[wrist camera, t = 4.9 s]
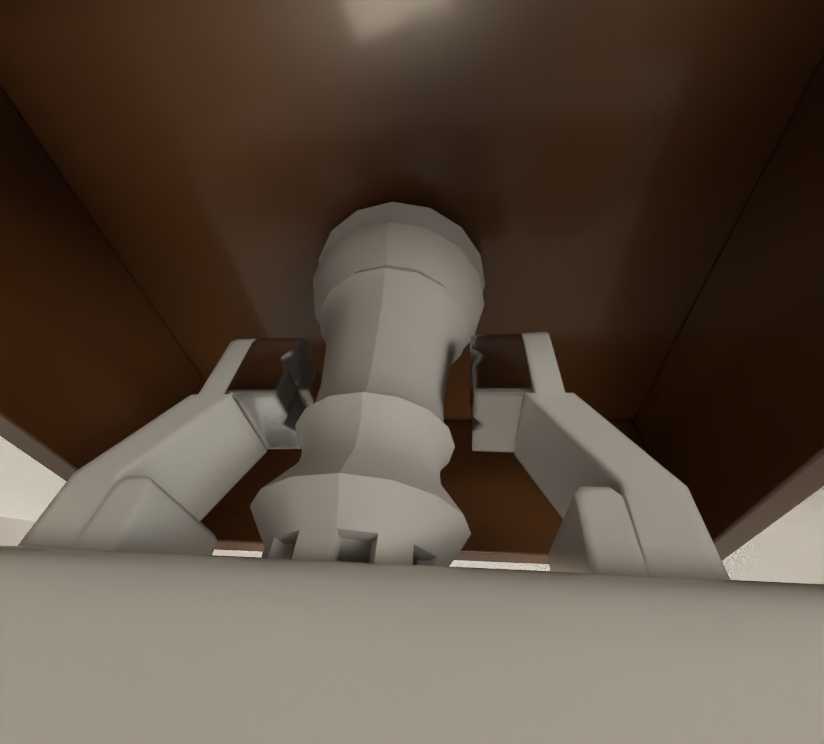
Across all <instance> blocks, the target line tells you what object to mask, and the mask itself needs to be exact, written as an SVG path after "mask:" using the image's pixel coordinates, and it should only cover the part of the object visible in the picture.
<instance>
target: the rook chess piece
mask: <svg viewBox="0 0 824 744" xmlns="http://www.w3.org/2000/svg"><path fill="white" fill-rule="evenodd" d="M484 287H485V280H484V274H483V267H482V261H481V255H480V253H479V252H478V251H477V249H476V248H475V246H474V245H473V243H472V242H471V240H470V239H469V237H468V236H467V235H466V233H465V232H464V230H463V229H462V227H460V226H459V225H457V224H455V223H454V222H452V221H450V220H449V219H447V218H446V217H444V216H442V215H441V214H439V213H438V212H436V211H434V210H433V209H431V208H428V207H421V206H415V205H409V204H403V203H397V202H390V203H386V204H381V205H377V206H373V207H369V208H365V209H361V210H357V211H356V212H354V213H353V214H352V215H351V216H349V217H348V218H347V219H346V220H345V221H343V222H342V223H341V224H340V225H338V226H337V227H336V228H335V229H333V230H332V231H331V232H330V235H329V237H328V239H327V241H326V244H325V246H324V248H323V250H322V253H321V255H320V257H319V266H318V268H317V270H316V273H315V275H314V277H313V292H314V307H315V317H316V318H317V320H318V322H319V324H320V326H321V335H322V337H323V339H324V341H325V342H326V352H325V359H324V367H323V374H322V382H321V386H320V389H319V392H318V396H317V399H316V402H315V403H314V404H313V405H311V406H309V407H307V408H305V410H304V411H303V413H302V415H301V416H300V418H299V420H298V421H297V423H296V424H295V426H296V433H297V440H298V444H299V445H300V447H301V449H302V453H301V458H300V460H299V462H298V463H297V464H296V465H294V466H293V467H292V468H290V469H289V470H287V471H286V472H284V473H283V474H281V475H280V476H279V477H277V478H276V479H274V480H273V481H271V482H270V483H268V484H267V485H266V486H264V487H263V488H261V489H260V491H259V492H258V494H257V495H256V497H255V499H254V500H253V502H252V503H251V505H250V508H251V511H252V514H253V517H254V520H255V522H256V525H257V528H258V531H259V534H260V536H261V539H262V542H263V545H264V551H263V554H262V558H277V559H298V560H319V561H340V562H361V563H382V564H403V565H424V566H445V567H449V565H450V564H451V563H452V561H453V560H454V559H455V557H456V556H457V555H458V553H459V552H460V551H461V549H462V548H463V546H464V544H465V543H466V541H467V540H468V538H469V536H470V535H471V532H470V530H469V527H468V524H467V522H466V519H465V517H464V514H463V513H462V512H461V510H460V509H459V508H458V506H457V505H456V504H455V502H454V501H453V500H452V499H451V497H450V496H449V495H448V493H447V492H446V491H445V489H444V488H443V487H442V485H441V481H440V471H441V470H442V469H443V468H444V467H445V466H446V465H447V464H448V463H449V461H450V458H451V456H452V453H453V450H454V448H455V445H454V442H453V439H452V436H451V433H450V430H449V427H448V426H447V425H446V424H444V399H445V393H446V388H447V383H448V378H449V373H450V368H451V365H452V364H453V363H454V362H455V361H456V360H457V359H458V358H459V357H460V356H461V354H462V351H463V349H464V348H465V347H466V346H467V345H468V343H469V342H470V337H471V335H474V334H475V332H476V329H477V326H478V323H479V319H480V316H481V313H482V310H483V307H484V299H483V290H484Z"/></svg>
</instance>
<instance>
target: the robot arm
mask: <svg viewBox="0 0 824 744" xmlns="http://www.w3.org/2000/svg"><path fill="white" fill-rule="evenodd" d="M310 354H311V351H310V348H309V346H308V343H307V341H306V340H304V339H302V338H258V339H235V340H233V341H232V342H230V344H229V345H228V347H227V348H226V350H225V352H224V353H223V355H222V357H221V358H220V360H219V361H218V363H217V365H216V366H215V368H214V370H213V371H212V373H211V374H210V376H209V378H208V379H207V381H206V383H205V384H204V386H203V387H202V389H201V391H200V392H199V394H194V395H190V396H188V397H187V398H185V399H184V400H182V401H181V402H179V403H178V404H176V405H175V406H173V407H172V408H170V409H169V410H167V411H166V412H164V413H163V414H161V415H160V416H158V417H157V418H155V419H154V420H152V421H151V422H149V423H148V424H146V425H145V426H143V427H142V428H140V429H139V430H137V431H136V432H134V433H133V434H131V435H130V436H128V437H127V438H125V439H124V440H122V441H121V442H119V443H118V444H116V445H115V446H113V447H112V448H110V449H109V450H107V451H106V452H104V453H103V454H101V455H100V456H98V457H97V458H95V459H94V460H92V461H91V462H89V463H88V464H86V465H85V466H83V467H82V468H80V469H79V470H77V471H76V472H74V473H73V474H72V476H71V477H70V478H69V479H68V481H67V482H66V483H65V485H64V486H63V487H62V489H61V490H60V491H59V492H58V494H57V495H56V496H55V498H54V499H53V500H52V502H51V503H50V504H49V506H48V507H47V508H46V509H45V511H44V512H43V513H42V515H41V516H40V517H39V519H38V520H37V521H36V523H35V524H34V525H33V526H32V528H31V529H30V531H29V532H28V533H27V534H26V536H25V537H24V538H23V540H22V541H21V542H20V544H19V545H18V546H1V545H0V744H824V584H803V583H782V582H761V581H740V580H730V578H729V576H728V574H727V572H726V569H725V567H724V565H723V563H722V561H721V558H720V556H719V554H718V552H717V550H716V548H715V545H714V543H713V541H712V539H711V537H710V535H709V532H708V530H707V528H706V526H705V524H704V521H703V519H702V517H701V515H700V513H699V511H698V508H697V506H696V504H695V502H694V500H693V498H692V495H691V493H690V491H689V489H688V487H687V486H686V485H685V484H683V483H682V482H681V481H680V480H679V479H677V478H676V477H675V476H674V475H672V474H671V473H670V472H669V471H668V470H666V469H665V468H664V467H663V466H662V465H660V464H659V463H658V462H657V461H656V460H654V459H653V458H652V457H651V456H650V455H648V454H647V453H646V452H645V451H643V450H642V449H641V448H640V447H639V446H637V445H636V444H635V443H634V442H633V441H631V440H630V439H629V438H628V437H627V436H625V435H624V434H623V433H622V432H621V431H619V430H618V429H617V428H616V427H614V426H613V425H612V424H611V423H610V422H608V421H607V420H606V419H605V418H604V417H602V416H601V415H600V414H599V413H598V412H596V411H595V410H594V409H593V408H592V407H590V406H589V405H588V404H587V403H585V402H584V401H583V400H582V399H581V398H579V397H578V396H577V395H576V394H575V393H565V389H564V386H563V382H562V379H561V375H560V371H559V368H558V364H557V361H556V357H555V353H554V350H553V346H552V343H551V339H550V335H549V334H548V333H547V332H529V333H521V334H519V333H518V334H482V335H471V337H470V387H469V389H470V408H471V437H472V451H490V452H514V455H515V456H516V458H517V459H518V460H519V462H520V463H521V464H522V466H523V467H524V468H525V470H526V471H527V472H528V474H529V475H530V476H531V478H532V479H533V480H534V482H535V483H536V484H537V486H538V487H539V488H540V490H541V491H542V492H543V494H544V495H545V496H546V498H547V499H548V500H549V501H550V503H551V504H552V505H553V507H554V508H555V509H556V511H557V512H558V513H559V515H560V516H561V517H562V519H563V521H562V523H561V526H560V528H559V530H558V532H557V535H556V537H555V539H554V541H553V544H552V546H551V548H550V550H549V552H548V560H549V566H550V571H529V570H508V569H487V568H466V567H445V566H424V565H403V564H382V563H361V562H340V561H319V560H298V559H277V558H256V557H234V556H213V555H212V553H213V551H214V548H215V546H216V543H217V538H216V536H215V534H214V533H213V532H211V531H210V530H209V529H208V528H207V527H206V526H205V525H203V524H202V523H201V522H200V521H201V520H202V519H203V518H204V517H205V516H206V515H207V514H208V513H209V511H210V510H211V509H212V508H213V507H214V506H215V505H216V504H217V503H218V502H219V501H220V500H221V499H222V498H223V497H224V496H225V495H226V494H227V493H228V492H229V491H230V490H231V488H232V487H233V486H234V485H235V484H236V483H237V482H238V481H239V480H240V479H241V478H242V477H243V476H244V475H245V474H246V473H247V472H248V471H249V470H250V469H251V468H252V467H253V465H254V464H255V463H256V462H257V461H258V460H259V459H260V458H261V457H262V456H263V455H264V454H265V453H266V452H267V450H266V449H301V447H300V445H299V444H298V440H297V433H296V426H295V424H296V423H297V421H298V420H299V418H300V416H301V415H302V413H303V411H304V410H305V408H307V407H309V406H311V405H313V404H314V403H315V402H316V399H317V396H318V392H319V389H320V386H321V381H320V375H319V372H318V369H317V367H316V366H315V365H313V364H312V363H311V362H310V361H308V360H309V357H310Z"/></svg>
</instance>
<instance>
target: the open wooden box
mask: <svg viewBox="0 0 824 744" xmlns="http://www.w3.org/2000/svg"><path fill="white" fill-rule="evenodd" d="M390 202H397V203H403V204H409V205H415V206H421V207H428V208H431V209H433V210H434V211H436V212H438V213H439V214H441V215H442V216H444V217H446V218H447V219H449V220H450V221H452V222H454V223H455V224H457V225H459V226H460V227H462V229H463V230H464V232H465V233H466V235H467V236H468V237H469V239H470V240H471V242H472V243H473V245H474V246H475V248H476V249H477V251H478V252H479V253H480V255H481V261H482V267H483V274H484V280H485V287H484V290H483V299H484V307H483V310H482V313H481V316H480V319H479V323H478V326H477V329H476V332H475V334H474V335H482V334H518V333H519V334H521V333H529V332H547V333H548V334H549V335H550V339H551V343H552V346H553V350H554V353H555V357H556V361H557V364H558V368H559V371H560V375H561V379H562V382H563V386H564V389H565V393H575V394H576V395H577V396H578V397H579V398H581V399H582V400H583V401H584V402H585V403H587V404H588V405H589V406H590V407H592V408H593V409H594V410H595V411H596V412H598V413H599V414H600V415H601V416H602V417H604V418H605V419H606V420H607V421H608V422H610V423H611V424H612V425H613V426H614V427H616V428H617V429H618V430H619V431H621V432H622V433H623V434H624V435H625V436H627V437H628V438H629V439H630V440H631V441H633V442H634V443H635V444H636V445H637V446H639V447H640V448H641V449H642V450H643V451H645V452H646V453H647V454H648V455H650V456H651V457H652V458H653V459H654V460H656V461H657V462H658V463H659V464H660V465H662V466H663V467H664V468H665V469H666V470H668V471H669V472H670V473H671V474H672V475H674V476H675V477H676V478H677V479H679V480H680V481H681V482H682V483H683V484H685V485H686V486H687V487H688V489H689V491H690V493H691V495H692V498H693V500H694V502H695V504H696V506H697V508H698V511H699V513H700V515H701V517H702V519H703V521H704V524H705V526H706V528H707V530H708V532H709V535H710V537H711V539H712V541H713V543H714V545H715V548H716V550H717V552H718V554H719V556H720V558H721V561H722V560H724V559H725V558H726V557H728V556H729V555H730V554H732V553H733V552H734V551H736V550H737V549H739V548H740V547H741V546H743V545H744V544H745V543H747V542H748V541H749V540H751V539H752V538H753V537H755V536H756V535H758V534H759V533H760V532H762V531H763V530H764V529H766V528H767V527H768V526H770V525H771V524H772V523H774V522H775V521H777V520H778V519H779V518H781V517H782V516H783V515H785V514H786V513H787V512H789V511H790V510H792V509H793V508H794V507H796V506H797V505H798V504H800V503H801V502H802V501H804V500H805V499H806V498H808V497H809V496H811V495H812V494H813V493H815V492H816V491H817V490H819V489H820V488H821V487H823V486H824V0H0V436H1V437H3V438H4V439H6V440H7V441H9V442H10V443H12V444H13V445H15V446H16V447H17V448H19V449H20V450H22V451H23V452H25V453H26V454H28V455H29V456H31V457H32V458H33V459H35V460H36V461H38V462H39V463H41V464H42V465H44V466H45V467H47V468H48V469H49V470H51V471H52V472H54V473H55V474H57V475H58V476H60V477H61V478H63V479H64V480H65V481H68V479H69V478H70V477H71V476H72V474H73V473H74V472H76V471H77V470H79V469H80V468H82V467H83V466H85V465H86V464H88V463H89V462H91V461H92V460H94V459H95V458H97V457H98V456H100V455H101V454H103V453H104V452H106V451H107V450H109V449H110V448H112V447H113V446H115V445H116V444H118V443H119V442H121V441H122V440H124V439H125V438H127V437H128V436H130V435H131V434H133V433H134V432H136V431H137V430H139V429H140V428H142V427H143V426H145V425H146V424H148V423H149V422H151V421H152V420H154V419H155V418H157V417H158V416H160V415H161V414H163V413H164V412H166V411H167V410H169V409H170V408H172V407H173V406H175V405H176V404H178V403H179V402H181V401H182V400H184V399H185V398H187V397H188V396H190V395H194V394H199V392H200V391H201V389H202V387H203V386H204V384H205V383H206V381H207V379H208V378H209V376H210V374H211V373H212V371H213V370H214V368H215V366H216V365H217V363H218V361H219V360H220V358H221V357H222V355H223V353H224V352H225V350H226V348H227V347H228V345H229V344H230V342H232V341H233V340H235V339H258V338H302V339H304V340H306V341H307V343H308V346H309V348H310V351H311V354H310V357H309V360H308V361H310V362H311V363H312V364H313V365H315V366H316V367H317V369H318V372H319V375H320V381H321V382H322V374H323V367H324V359H325V352H326V342H325V341H324V339H323V337H322V335H321V326H320V324H319V322H318V320H317V318H316V317H315V307H314V292H313V277H314V275H315V273H316V270H317V268H318V266H319V257H320V255H321V253H322V250H323V248H324V246H325V244H326V241H327V239H328V237H329V235H330V232H331V231H332V230H333V229H335V228H336V227H337V226H338V225H340V224H341V223H342V222H343V221H345V220H346V219H347V218H348V217H349V216H351V215H352V214H353V213H354V212H356V211H357V210H361V209H365V208H369V207H373V206H377V205H381V204H386V203H390ZM469 387H470V342H469V343H468V345H467V346H466V347H465V348H464V349H463V351H462V354H461V356H460V357H459V358H458V359H457V360H456V361H455V362H454V363H453V364H452V365H451V368H450V373H449V378H448V383H447V388H446V393H445V399H444V424H446V425H447V426H448V427H449V430H450V433H451V436H452V439H453V442H454V445H455V448H454V450H453V453H452V456H451V458H450V461H449V463H448V464H447V465H446V466H445V467H444V468H443V469H442V470H441V471H440V481H441V485H442V487H443V488H444V489H445V491H446V492H447V493H448V495H449V496H450V497H451V499H452V500H453V501H454V502H455V504H456V505H457V506H458V508H459V509H460V510H461V512H462V513H463V514H464V517H465V519H466V522H467V524H468V527H469V530H470V532H471V535H470V536H469V538H468V540H467V541H466V543H465V544H464V546H463V548H462V549H461V551H460V552H459V553H458V555H457V556H456V557H455V559H454V560H468V561H491V562H514V563H537V564H549V560H548V552H549V550H550V548H551V546H552V544H553V541H554V539H555V537H556V535H557V532H558V530H559V528H560V526H561V523H562V521H563V519H562V517H561V516H560V515H559V513H558V512H557V511H556V509H555V508H554V507H553V505H552V504H551V503H550V501H549V500H548V499H547V498H546V496H545V495H544V494H543V492H542V491H541V490H540V488H539V487H538V486H537V484H536V483H535V482H534V480H533V479H532V478H531V476H530V475H529V474H528V472H527V471H526V470H525V468H524V467H523V466H522V464H521V463H520V462H519V460H518V459H517V458H516V456H515V455H514V452H490V451H472V437H471V408H470V389H469ZM266 450H267V452H266V453H265V454H264V455H263V456H262V457H261V458H260V459H259V460H258V461H257V462H256V463H255V464H254V465H253V467H252V468H251V469H250V470H249V471H248V472H247V473H246V474H245V475H244V476H243V477H242V478H241V479H240V480H239V481H238V482H237V483H236V484H235V485H234V486H233V487H232V488H231V490H230V491H229V492H228V493H227V494H226V495H225V496H224V497H223V498H222V499H221V500H220V501H219V502H218V503H217V504H216V505H215V506H214V507H213V508H212V509H211V510H210V511H209V513H208V514H207V515H206V516H205V517H204V518H203V519H202V520H201V521H200V522H201V523H202V524H203V525H205V526H206V527H207V528H208V529H209V530H210V531H211V532H213V533H214V534H215V536H216V538H217V543H216V546H215V548H214V549H220V550H241V551H264V545H263V542H262V539H261V536H260V534H259V531H258V528H257V525H256V522H255V520H254V517H253V514H252V511H251V508H250V505H251V503H252V502H253V500H254V499H255V497H256V495H257V494H258V492H259V491H260V489H261V488H263V487H264V486H266V485H267V484H268V483H270V482H271V481H273V480H274V479H276V478H277V477H279V476H280V475H281V474H283V473H284V472H286V471H287V470H289V469H290V468H292V467H293V466H294V465H296V464H297V463H298V462H299V460H300V458H301V453H302V449H266Z"/></svg>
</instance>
